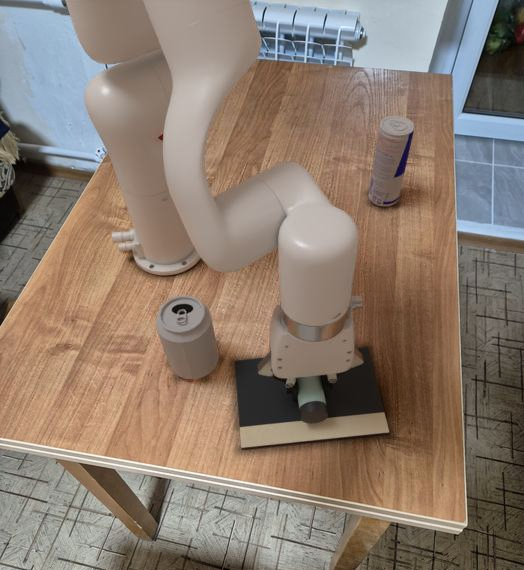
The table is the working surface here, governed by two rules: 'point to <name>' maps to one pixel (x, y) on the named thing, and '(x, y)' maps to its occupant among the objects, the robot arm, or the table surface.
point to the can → (187, 336)
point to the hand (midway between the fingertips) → (308, 390)
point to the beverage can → (390, 160)
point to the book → (286, 414)
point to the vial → (311, 399)
